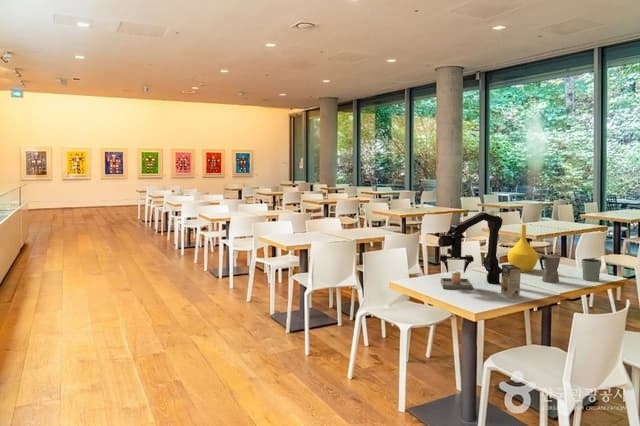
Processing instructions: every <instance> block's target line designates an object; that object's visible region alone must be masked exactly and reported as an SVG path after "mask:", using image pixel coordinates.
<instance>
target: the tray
mask: <svg viewBox="0 0 640 426" xmlns="http://www.w3.org/2000/svg"><path fill="white" fill-rule="evenodd" d="M451 281H452V277H449V278H448V277H441V278H440V285H441V287H442V289H443V290H466V291H467V290H468V291H469V290H473V285H472V282H471V281H470V280H469V278H461V280H460V285H453V284H451Z"/></svg>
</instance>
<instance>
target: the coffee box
mask: <svg viewBox="0 0 640 426" xmlns="http://www.w3.org/2000/svg"><path fill="white" fill-rule="evenodd" d="M501 269H502V273H501V280H500V284H501V285H500V288H501V290H500V293H501V294H502V295H503V296H504V297H506V298H507V299H520V291H521V290H520V289H521V288H520V287H521V273H522V272H521V268H519V267H517V266H515V265H510V264H508V263H507V264H501Z"/></svg>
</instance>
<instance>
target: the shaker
mask: <svg viewBox="0 0 640 426" xmlns="http://www.w3.org/2000/svg"><path fill="white" fill-rule="evenodd" d="M461 275H462V274H461V272H460V271H455V270H454V271H451V278H452V281H451V284H453V285H460V280H461V279H462V278H461Z"/></svg>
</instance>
